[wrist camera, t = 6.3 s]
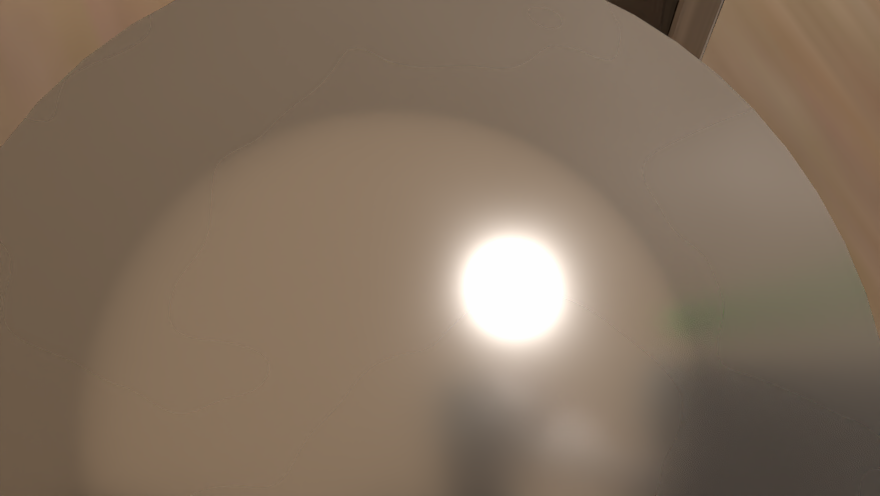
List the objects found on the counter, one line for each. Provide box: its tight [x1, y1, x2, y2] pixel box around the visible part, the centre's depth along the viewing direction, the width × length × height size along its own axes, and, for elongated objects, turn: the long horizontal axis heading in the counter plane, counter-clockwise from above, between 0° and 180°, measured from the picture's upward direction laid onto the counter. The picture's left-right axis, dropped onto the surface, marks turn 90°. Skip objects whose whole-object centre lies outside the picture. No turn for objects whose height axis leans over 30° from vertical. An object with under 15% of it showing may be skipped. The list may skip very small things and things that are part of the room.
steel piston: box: [0, 0, 880, 496], centre depth 10 cm, size 6×6×12 cm
